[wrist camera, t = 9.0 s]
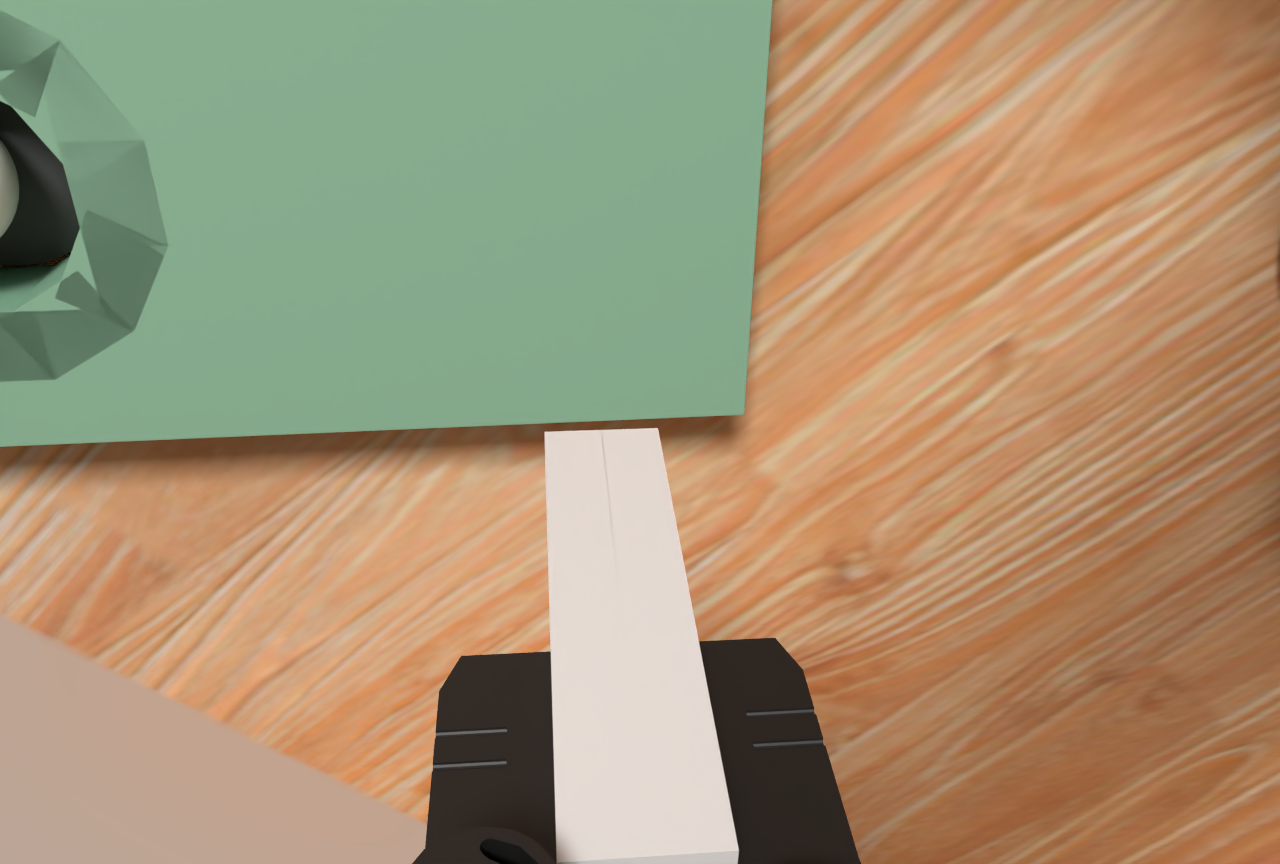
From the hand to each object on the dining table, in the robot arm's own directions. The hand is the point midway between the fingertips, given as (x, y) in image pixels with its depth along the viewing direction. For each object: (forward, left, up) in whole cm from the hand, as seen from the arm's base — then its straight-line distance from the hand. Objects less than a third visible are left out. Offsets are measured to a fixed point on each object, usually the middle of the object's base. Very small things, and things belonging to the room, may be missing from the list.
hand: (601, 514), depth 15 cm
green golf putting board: (0, -8, -18) cm, 19 cm away
